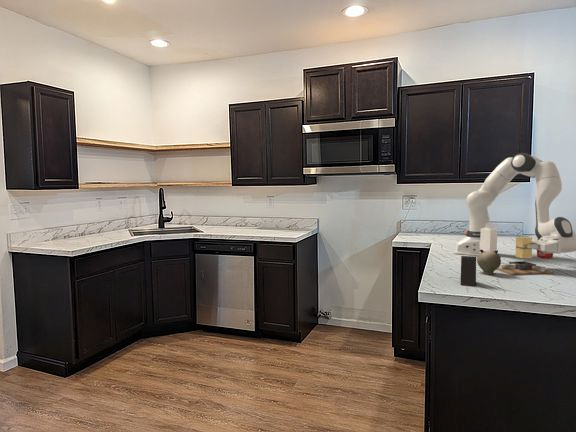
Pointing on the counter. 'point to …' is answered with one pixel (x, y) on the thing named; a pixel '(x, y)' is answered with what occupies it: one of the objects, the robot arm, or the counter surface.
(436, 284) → the counter surface
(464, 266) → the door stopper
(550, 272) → the coupling board
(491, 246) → the milk
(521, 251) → the coupler
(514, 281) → the counter surface
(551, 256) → the canned food
